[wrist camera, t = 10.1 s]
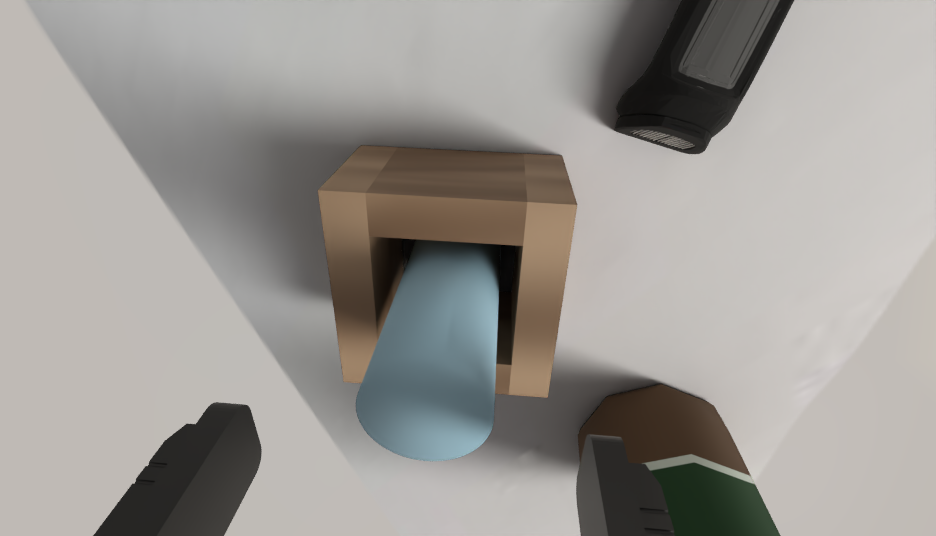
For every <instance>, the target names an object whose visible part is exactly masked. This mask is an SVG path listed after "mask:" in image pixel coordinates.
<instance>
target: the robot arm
mask: <svg viewBox="0 0 936 536" xmlns="http://www.w3.org/2000/svg"><path fill="white" fill-rule="evenodd" d="M260 460H261V444H260V441H259V437H258V434H257V431H256V427H255V423H254V420H253V417H252V413H251V410H250V408H249V406H247V405H242V404H230V403H218V402H216V403H213V404H211V405H210V406H209V407H208V408H207V409H206V411H205V412H204V413H203V415H202V416H201V418H200V419H199V421H198V422H197V423H196V424H186V425H185V426H183V427H182V428H181V429H180V430H178V431H177V432H176V433H174V434H173V435H172V436H171V437H169V438H168V439H167V440H165V441H164V443H163V444H162V445H161V447H160V448H159V449H158V451H157V452H156V453H155V455H154V456H153V457H152V459H151V460H150V462H149V465H148V466H146V467H145V468H144V469H143V471H142V472H141V473H140V475H139V476H138V477H137V478H136V482H135V484H132V485H131V487H130V488H129V489H128V491H127V492H126V493H125V494H124V496H123V497H122V498H121V500H120V501H119V502H118V504H117V505H116V506H115V508H114V509H113V510H112V512H111V513H110V514H109V516H108V517H107V518H106V520H105V521H104V522H103V524H102V525H101V526H100V528H99V529H98V530H97V532H96V533H95V534H94V535H93V536H224V534H225V532H226V531H227V529H228V527H229V525H230V523H231V521H232V519H233V517H234V515H235V513H236V511H237V509H238V508H239V506H240V504H241V502H242V500H243V498H244V496H245V494H246V492H247V490H248V488H249V486H250V484H251V483H252V481H253V479H254V477H255V475H256V473H257V470H258V468H259V464H260ZM576 495H577V507H578V515H579V524H580V532H581V536H675V535H674V528H673V525H672V521H671V518H670V515H668V508H667V504H666V501H665V497H664V494H663V491H662V487H661V485H660V484H659V482H658V481H657V479H656V478H655V477H654V475H653V474H652V472H651V471H650V470H649V468H648V467H647V466H646V464H639V463H629V462H628V458H627V454H626V450H625V446H624V442H623V440H622V438H621V437H615V436H603V435H591V434H588V435H587V437H586V440H585V444H584V449H583V453H582V457H581V462H580V466H579V471H578V475H577V486H576Z"/></svg>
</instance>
